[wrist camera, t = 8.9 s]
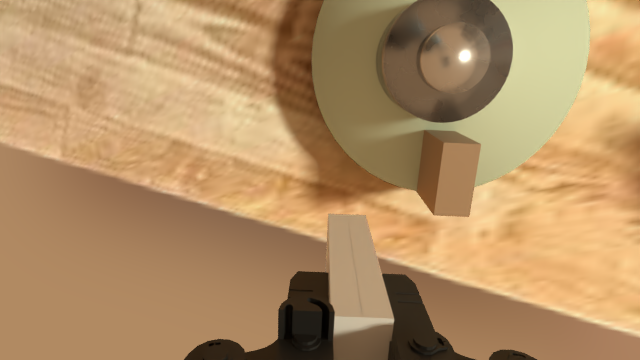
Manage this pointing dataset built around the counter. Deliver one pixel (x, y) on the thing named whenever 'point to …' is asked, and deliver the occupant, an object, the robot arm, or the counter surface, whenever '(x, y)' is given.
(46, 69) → the counter surface
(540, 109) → the turntable
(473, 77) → the cover
